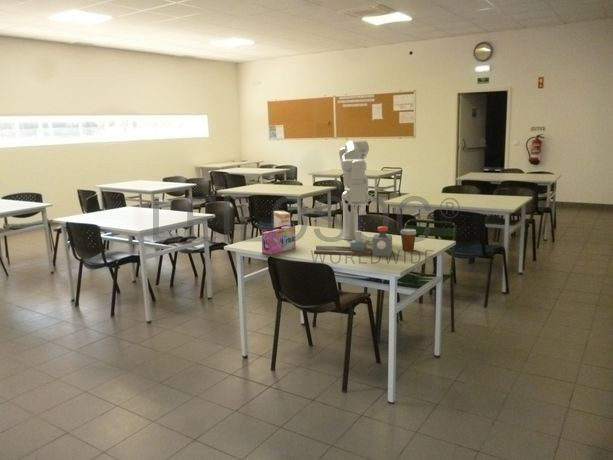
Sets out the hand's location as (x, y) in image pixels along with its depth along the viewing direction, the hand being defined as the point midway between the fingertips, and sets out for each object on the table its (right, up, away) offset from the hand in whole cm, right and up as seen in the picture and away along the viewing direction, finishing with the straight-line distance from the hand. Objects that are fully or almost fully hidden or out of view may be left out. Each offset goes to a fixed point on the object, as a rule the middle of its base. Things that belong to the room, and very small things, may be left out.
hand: (358, 211), depth 294 cm
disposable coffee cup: (+30, -22, +9) cm, 39 cm away
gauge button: (+14, -18, 0) cm, 22 cm away
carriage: (0, -22, +4) cm, 22 cm away
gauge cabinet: (+14, -24, +1) cm, 28 cm away
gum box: (-46, -23, +15) cm, 54 cm away
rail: (-8, -23, +6) cm, 25 cm away
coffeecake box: (-45, -18, +40) cm, 63 cm away
